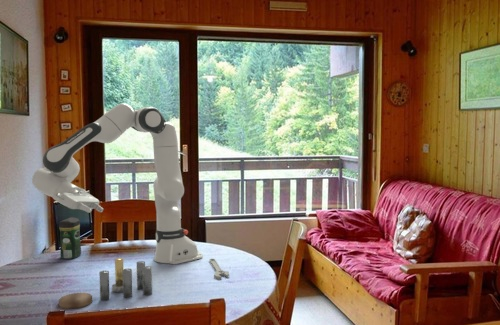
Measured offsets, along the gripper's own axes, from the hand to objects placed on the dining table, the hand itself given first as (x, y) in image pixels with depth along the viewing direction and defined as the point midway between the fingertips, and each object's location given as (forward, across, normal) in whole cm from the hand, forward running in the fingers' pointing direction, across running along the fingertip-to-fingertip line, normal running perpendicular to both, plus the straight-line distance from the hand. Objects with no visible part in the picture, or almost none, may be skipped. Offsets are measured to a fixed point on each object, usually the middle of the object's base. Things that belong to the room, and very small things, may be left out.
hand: (96, 210), depth 172 cm
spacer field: (+30, -6, +19) cm, 36 cm away
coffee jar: (-16, +35, +34) cm, 51 cm away
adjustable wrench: (+51, +26, +2) cm, 57 cm away
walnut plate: (+16, -16, +28) cm, 36 cm away
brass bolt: (+24, -3, +21) cm, 32 cm away
